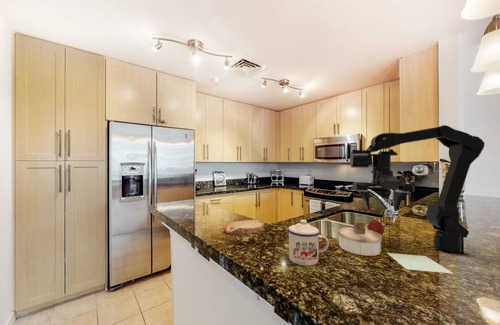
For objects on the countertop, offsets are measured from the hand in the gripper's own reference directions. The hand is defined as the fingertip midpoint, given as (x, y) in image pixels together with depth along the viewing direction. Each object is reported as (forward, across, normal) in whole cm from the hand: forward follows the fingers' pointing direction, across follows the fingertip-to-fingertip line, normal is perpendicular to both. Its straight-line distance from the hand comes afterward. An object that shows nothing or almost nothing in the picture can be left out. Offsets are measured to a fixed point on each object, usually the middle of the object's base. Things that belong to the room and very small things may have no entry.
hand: (381, 210), depth 75 cm
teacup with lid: (+13, -28, -19) cm, 36 cm away
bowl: (+12, -10, -7) cm, 17 cm away
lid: (+8, -10, -7) cm, 15 cm away
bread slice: (+13, -53, +8) cm, 55 cm away
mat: (+12, +3, -15) cm, 20 cm away
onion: (+13, +1, +8) cm, 15 cm away
